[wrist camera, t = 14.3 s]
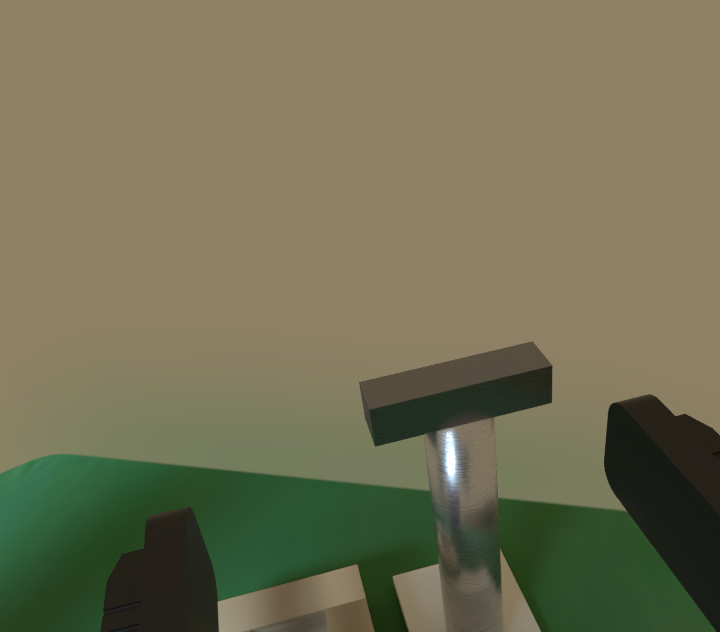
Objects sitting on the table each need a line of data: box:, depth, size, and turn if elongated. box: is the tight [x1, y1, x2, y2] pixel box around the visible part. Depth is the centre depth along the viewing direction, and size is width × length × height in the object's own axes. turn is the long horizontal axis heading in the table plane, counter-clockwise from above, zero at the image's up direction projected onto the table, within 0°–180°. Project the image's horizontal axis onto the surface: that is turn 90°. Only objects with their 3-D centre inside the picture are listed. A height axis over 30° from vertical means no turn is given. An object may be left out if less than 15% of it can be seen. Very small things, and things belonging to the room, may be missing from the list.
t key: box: [359, 342, 552, 632], centre depth 34 cm, size 8×3×18 cm, turn 102°
